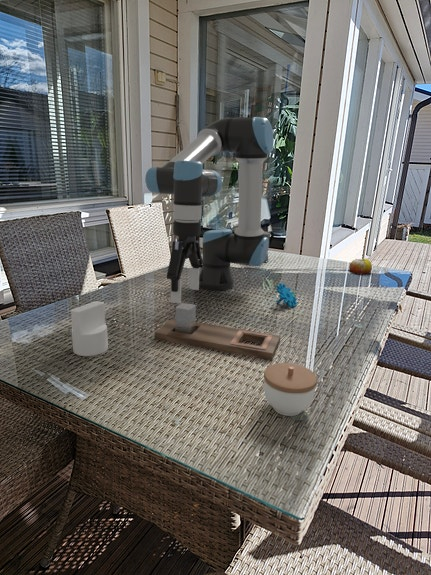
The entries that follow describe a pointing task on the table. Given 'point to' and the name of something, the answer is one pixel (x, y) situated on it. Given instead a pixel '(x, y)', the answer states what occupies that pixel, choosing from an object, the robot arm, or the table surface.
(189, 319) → the steel block
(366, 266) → the fruit
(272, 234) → the coffeepot
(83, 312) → the cylinder with rectangular tab
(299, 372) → the lidded jar
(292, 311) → the table surface
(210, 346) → the walnut rail
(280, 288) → the gear
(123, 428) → the table surface
